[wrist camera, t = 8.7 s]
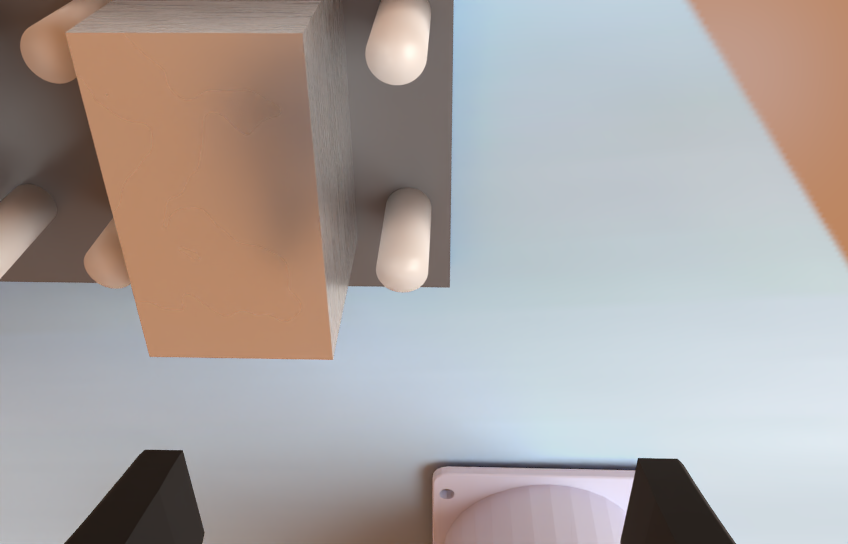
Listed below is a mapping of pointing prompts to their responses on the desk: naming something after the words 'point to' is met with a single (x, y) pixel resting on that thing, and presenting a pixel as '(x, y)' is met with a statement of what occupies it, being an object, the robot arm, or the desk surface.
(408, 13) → the grey peg board
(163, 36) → the tan rectangular block
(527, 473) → the robot arm
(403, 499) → the desk surface
